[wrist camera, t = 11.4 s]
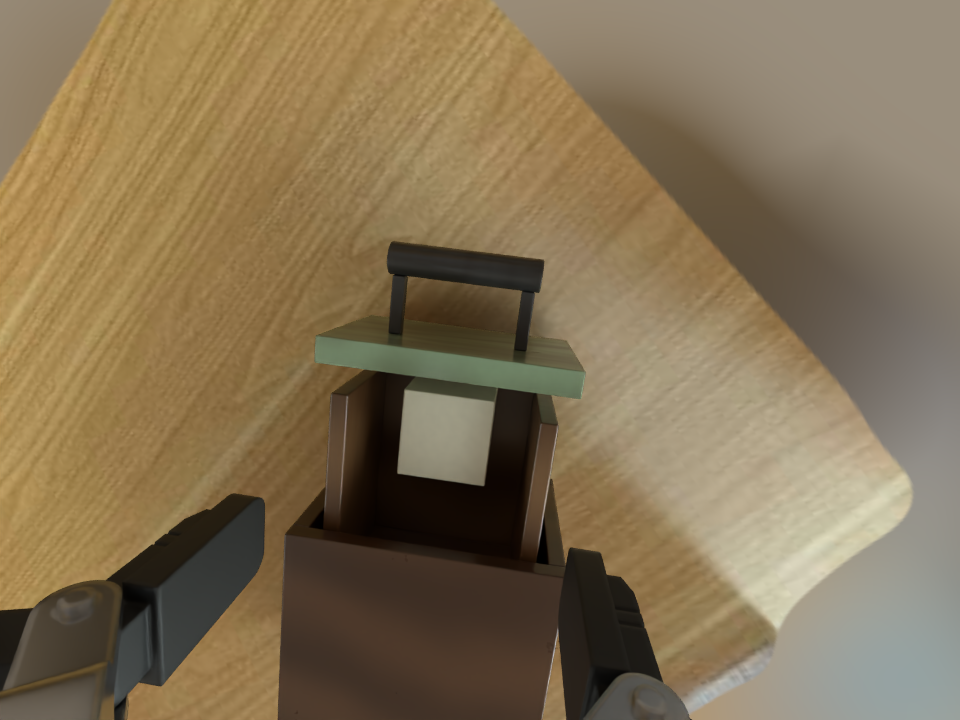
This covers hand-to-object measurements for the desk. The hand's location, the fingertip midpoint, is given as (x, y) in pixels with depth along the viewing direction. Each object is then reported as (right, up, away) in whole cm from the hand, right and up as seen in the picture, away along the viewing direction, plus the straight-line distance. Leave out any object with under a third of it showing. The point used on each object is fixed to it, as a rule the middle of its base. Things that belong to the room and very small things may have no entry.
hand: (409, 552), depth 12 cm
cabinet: (-1, -9, +19) cm, 21 cm away
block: (0, +2, +15) cm, 15 cm away
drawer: (+1, +2, +16) cm, 16 cm away
